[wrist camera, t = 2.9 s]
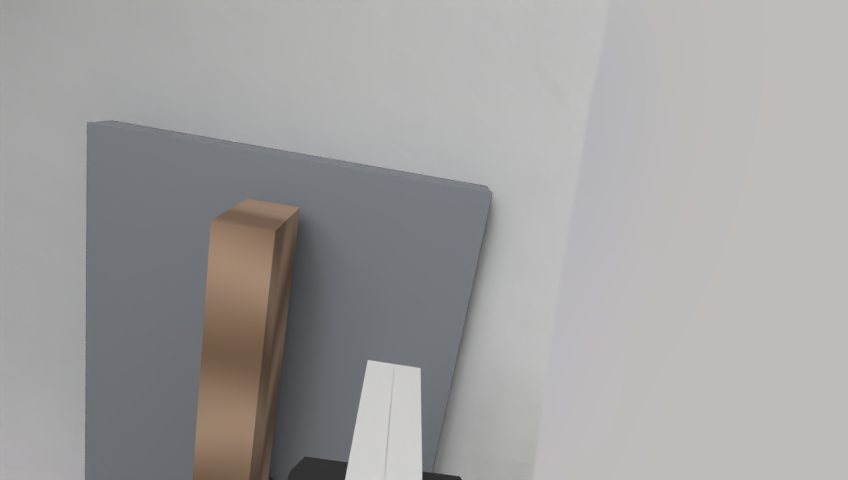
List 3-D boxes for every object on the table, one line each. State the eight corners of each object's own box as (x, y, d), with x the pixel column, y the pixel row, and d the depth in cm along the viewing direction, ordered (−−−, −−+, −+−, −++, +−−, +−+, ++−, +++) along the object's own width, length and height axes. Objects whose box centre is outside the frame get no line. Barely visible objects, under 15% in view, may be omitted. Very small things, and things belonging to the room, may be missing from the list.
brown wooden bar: (237, 191, 24) (189, 216, 19) (321, 205, 25) (296, 234, 19) (200, 628, 31) (158, 733, 26) (266, 635, 32) (237, 741, 27)
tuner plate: (111, 120, 25) (83, 122, 23) (486, 186, 27) (493, 194, 24) (103, 607, 34) (81, 643, 31) (390, 640, 35) (389, 676, 33)
